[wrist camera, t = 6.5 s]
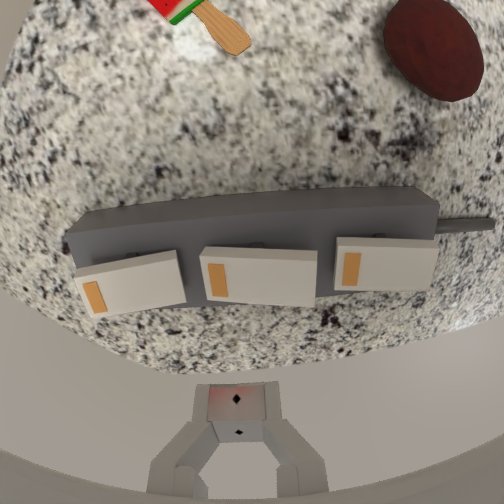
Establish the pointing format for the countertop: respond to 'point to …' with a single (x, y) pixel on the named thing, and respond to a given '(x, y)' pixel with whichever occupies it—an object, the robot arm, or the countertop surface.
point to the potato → (434, 48)
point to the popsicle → (207, 22)
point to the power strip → (259, 228)
